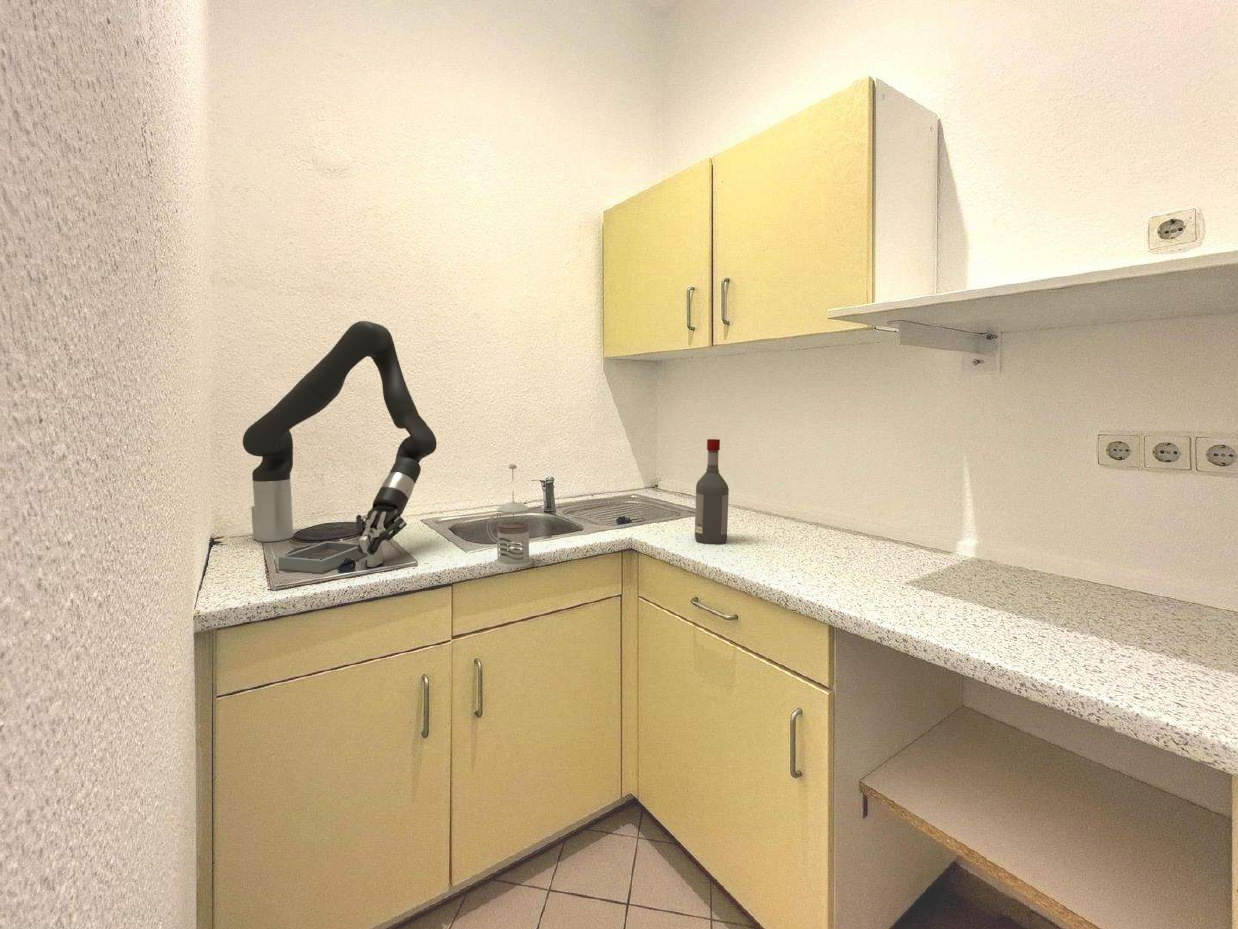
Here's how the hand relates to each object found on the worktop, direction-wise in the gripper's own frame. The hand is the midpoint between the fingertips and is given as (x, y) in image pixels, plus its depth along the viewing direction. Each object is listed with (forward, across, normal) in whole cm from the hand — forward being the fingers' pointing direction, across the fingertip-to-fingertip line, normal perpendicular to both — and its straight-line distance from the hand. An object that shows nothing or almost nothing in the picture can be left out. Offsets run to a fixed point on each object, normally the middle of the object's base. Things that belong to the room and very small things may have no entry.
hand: (365, 552), depth 135 cm
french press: (-7, +31, +13) cm, 34 cm away
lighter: (+1, 0, +4) cm, 5 cm away
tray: (+1, -13, +4) cm, 14 cm away
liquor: (-32, +79, +38) cm, 94 cm away
